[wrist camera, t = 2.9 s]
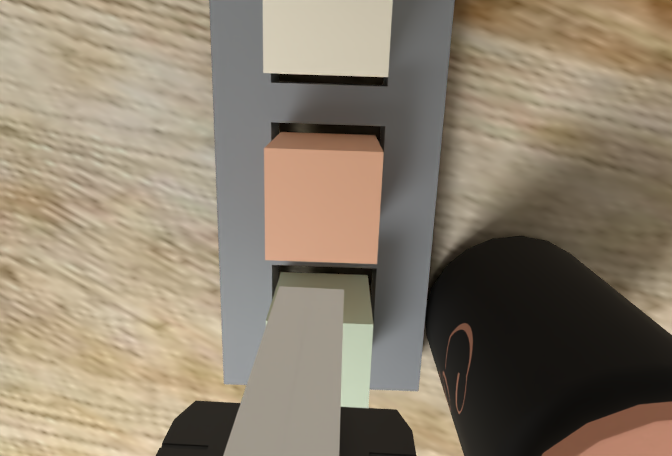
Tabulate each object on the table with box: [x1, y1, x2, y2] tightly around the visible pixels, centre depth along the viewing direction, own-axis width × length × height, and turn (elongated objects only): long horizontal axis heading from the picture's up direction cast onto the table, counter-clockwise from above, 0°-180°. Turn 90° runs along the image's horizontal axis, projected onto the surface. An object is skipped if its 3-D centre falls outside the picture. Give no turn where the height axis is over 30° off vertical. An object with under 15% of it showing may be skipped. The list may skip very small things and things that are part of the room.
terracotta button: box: [264, 132, 384, 264], centre depth 25 cm, size 5×5×6 cm
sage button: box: [266, 272, 373, 408], centre depth 27 cm, size 5×5×6 cm
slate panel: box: [209, 0, 455, 391], centre depth 29 cm, size 12×26×4 cm, turn 178°
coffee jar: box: [425, 236, 672, 456], centre depth 25 cm, size 11×11×18 cm
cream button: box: [263, 0, 393, 77], centre depth 22 cm, size 5×5×6 cm
